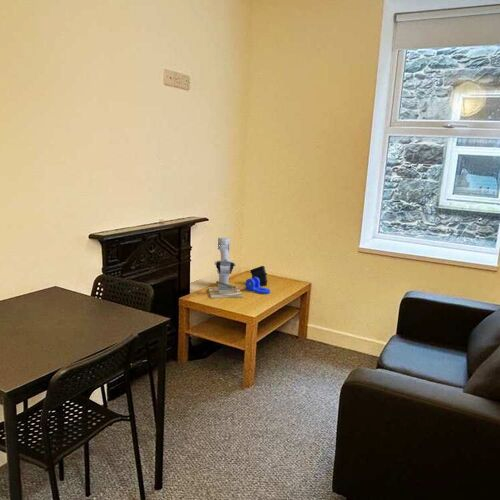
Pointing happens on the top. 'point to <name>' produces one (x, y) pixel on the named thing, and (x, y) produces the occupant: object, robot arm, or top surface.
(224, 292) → the heat sink
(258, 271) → the black rectangular slab
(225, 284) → the retention strap
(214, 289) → the lugs
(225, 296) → the board
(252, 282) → the bracket
